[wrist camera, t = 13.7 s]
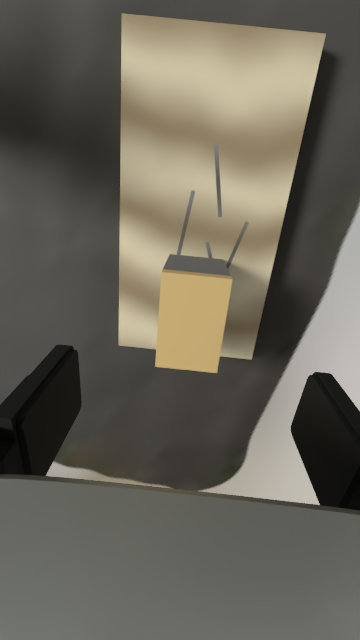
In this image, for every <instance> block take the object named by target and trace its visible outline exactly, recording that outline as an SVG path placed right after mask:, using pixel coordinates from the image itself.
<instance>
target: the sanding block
mask: <svg viewBox="0 0 360 640" xmlns="http://www.w3.org/2000/svg"><path fill="white" fill-rule="evenodd" d="M232 281H233V279H232V277H231V275H230V273H229V271H228V268H227V266H226V264H225V262H224V260H223V259H215V258H205V257H195V256H185V255H175V254H170V255H169V257H168V259H167V261H166V263H165V265H164V267H163V270H162V272H161V285H160V300H159V316H158V331H157V347H156V362H155V367H164V368H173V369H183V370H193V371H202V372H212V373H217V369H218V363H219V357H220V351H221V346H222V340H223V334H224V328H225V322H226V316H227V310H228V304H229V298H230V292H231V287H232Z"/></svg>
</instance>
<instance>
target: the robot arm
mask: <svg viewBox="0 0 360 640" xmlns="http://www.w3.org/2000/svg"><path fill="white" fill-rule="evenodd" d="M80 408H81V389H80V375H79V361H78V352H77V350H74V348H73V347H72V346H67V345H56V346H55V347H54V349H53V350H52V351H51V352H50V353H49V354H48V355H47V356H46V357H45V358H44V360H43V361H42V362H41V363H40V364H39V365H38V366H37V367H36V368H35V370H34V371H33V372H32V373H31V374H30V375H28V376H27V377H26V378H25V379H24V380H23V381H22V382H21V383H20V384H19V385H18V386H17V387H16V388H15V390H14V391H13V392H12V393H11V394H10V395H9V396H8V397H7V398H6V399H5V401H4V402H3V403H2V404H1V405H0V640H360V411H359V410H358V409H357V407H356V406H355V405H354V403H353V402H352V401H351V399H350V398H349V397H348V395H347V394H346V393H345V391H344V390H343V389H342V387H341V386H340V385H339V383H338V382H337V381H336V380H335V378H334V377H333V376H332V375H331V374H329V373H320V372H315V373H314V374H313V375H310V376H309V377H308V379H307V382H306V385H305V387H304V390H303V393H302V396H301V399H300V402H299V405H298V407H297V410H296V413H295V416H294V419H293V422H292V425H291V433H292V436H293V439H294V441H295V444H296V446H297V448H298V451H299V453H300V456H301V458H302V461H303V463H304V466H305V468H306V471H307V473H308V476H309V478H310V481H311V483H312V486H313V488H314V491H315V493H316V496H317V498H318V501H319V503H320V505H313V504H305V503H296V502H287V501H279V500H269V499H261V498H253V497H244V496H235V495H226V494H216V493H207V492H198V491H189V490H180V489H170V488H161V487H152V486H141V485H132V484H122V483H113V482H103V481H93V480H84V479H72V478H61V477H48V476H46V474H47V472H48V470H49V468H50V466H51V464H52V462H53V461H54V459H55V457H56V455H57V453H58V451H59V449H60V447H61V445H62V443H63V442H64V440H65V438H66V436H67V434H68V432H69V430H70V428H71V426H72V424H73V423H74V421H75V419H76V417H77V415H78V413H79V411H80Z"/></svg>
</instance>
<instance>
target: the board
mask: <svg viewBox="0 0 360 640" xmlns="http://www.w3.org/2000/svg"><path fill="white" fill-rule="evenodd" d="M325 36H326V34H323V33H313V32H303V31H293V30H283V29H273V28H263V27H253V26H243V25H233V24H223V23H213V22H203V21H193V20H183V19H173V18H163V17H153V16H143V15H133V14H123V13H122V46H121V152H120V259H119V345H121V346H130V347H139V348H149V349H156V347H157V331H158V316H159V300H160V285H161V272H162V270H163V267H164V265H165V263H166V261H167V259H168V257H169V255H170V254H175V255H185V256H195V257H205V258H215V259H223V260H224V262H225V264H226V266H227V268H228V271H229V273H230V275H231V277H232V279H233V281H232V287H231V292H230V298H229V304H228V310H227V316H226V322H225V328H224V334H223V340H222V346H221V351H220V356H223V357H232V358H242V359H251V360H252V355H253V351H254V347H255V342H256V338H257V333H258V329H259V325H260V320H261V316H262V312H263V307H264V303H265V298H266V294H267V290H268V285H269V281H270V277H271V272H272V268H273V263H274V259H275V255H276V250H277V246H278V242H279V237H280V233H281V228H282V224H283V220H284V215H285V211H286V207H287V202H288V198H289V193H290V189H291V185H292V180H293V176H294V172H295V167H296V163H297V158H298V154H299V150H300V145H301V141H302V137H303V132H304V128H305V123H306V119H307V115H308V110H309V106H310V102H311V97H312V93H313V88H314V84H315V80H316V75H317V71H318V67H319V62H320V58H321V53H322V49H323V45H324V40H325Z"/></svg>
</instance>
